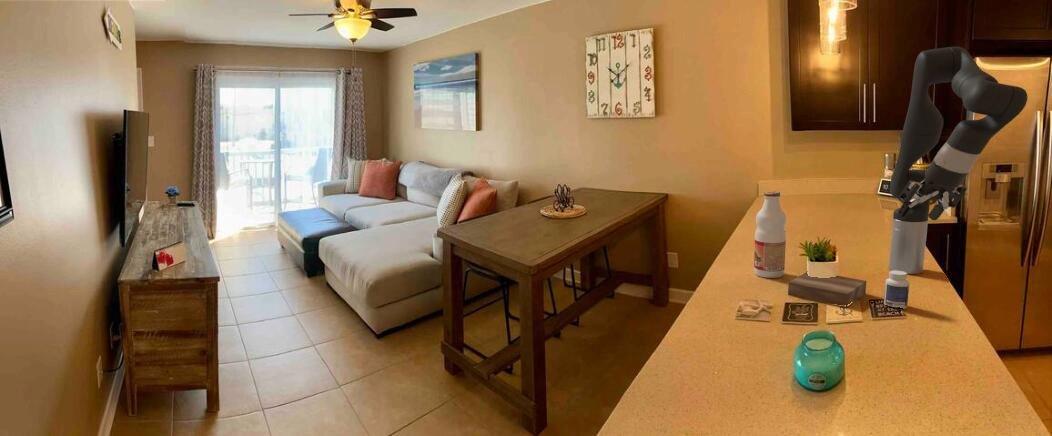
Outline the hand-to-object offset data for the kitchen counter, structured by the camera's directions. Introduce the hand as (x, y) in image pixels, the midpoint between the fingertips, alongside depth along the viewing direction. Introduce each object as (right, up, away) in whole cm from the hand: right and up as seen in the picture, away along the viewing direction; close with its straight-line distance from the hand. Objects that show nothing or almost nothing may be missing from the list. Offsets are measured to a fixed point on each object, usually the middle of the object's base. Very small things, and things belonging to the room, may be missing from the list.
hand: (916, 217), depth 138 cm
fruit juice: (-19, -19, +43) cm, 50 cm away
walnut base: (-11, -23, +22) cm, 33 cm away
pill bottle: (+2, -25, +10) cm, 27 cm away
